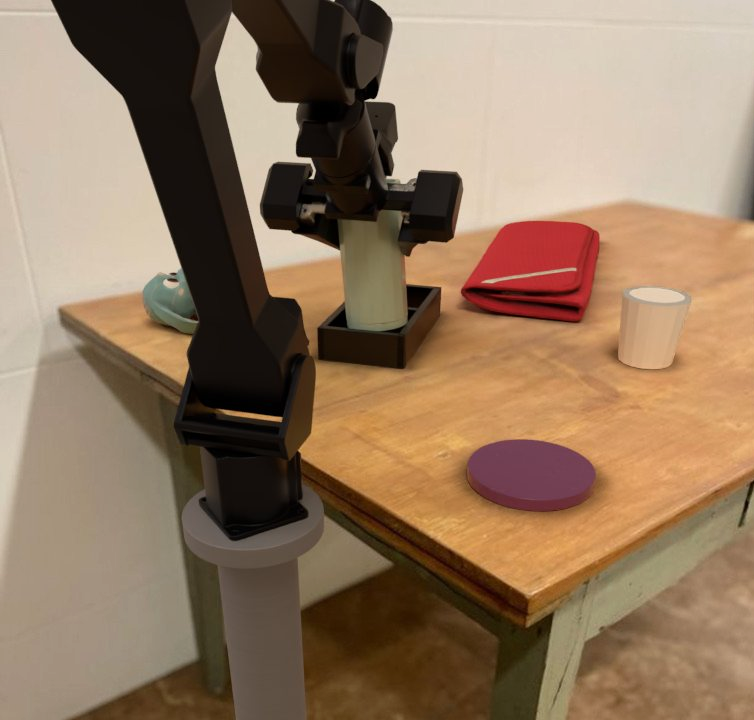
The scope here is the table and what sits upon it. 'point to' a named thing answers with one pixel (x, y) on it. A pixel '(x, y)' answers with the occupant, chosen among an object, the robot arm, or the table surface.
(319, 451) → the table surface
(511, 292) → the dish drying mat
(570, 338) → the table surface
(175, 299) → the stuffed animal
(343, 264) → the tumbler
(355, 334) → the compartment tray
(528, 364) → the table surface
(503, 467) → the lid
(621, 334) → the white cup
